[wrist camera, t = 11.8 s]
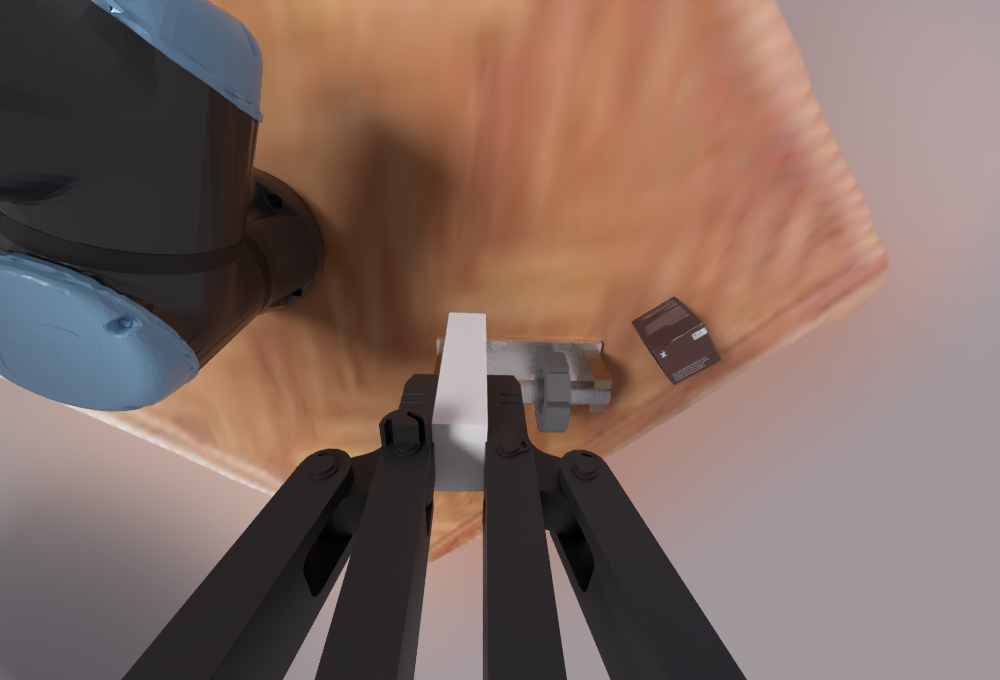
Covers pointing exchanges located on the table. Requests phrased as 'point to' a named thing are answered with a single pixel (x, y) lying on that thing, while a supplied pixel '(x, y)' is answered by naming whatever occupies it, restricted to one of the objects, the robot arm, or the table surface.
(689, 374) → the box
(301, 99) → the table surface
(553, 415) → the grey hex nut
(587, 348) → the pipe rig
